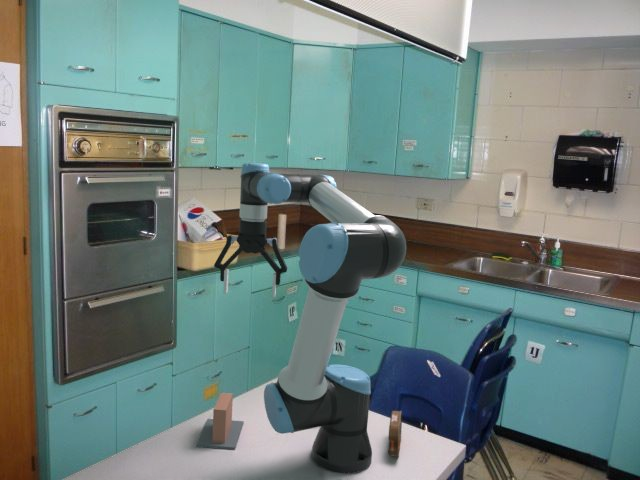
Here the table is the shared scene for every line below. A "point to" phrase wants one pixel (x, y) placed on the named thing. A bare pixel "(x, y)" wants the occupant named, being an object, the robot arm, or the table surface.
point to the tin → (395, 433)
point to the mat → (231, 439)
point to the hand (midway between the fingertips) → (249, 294)
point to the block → (222, 417)
